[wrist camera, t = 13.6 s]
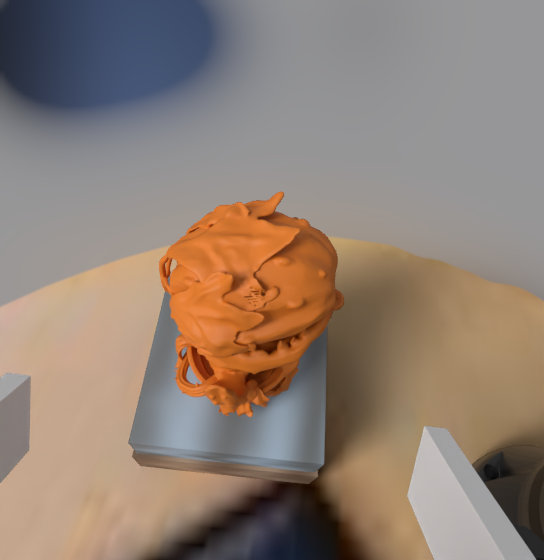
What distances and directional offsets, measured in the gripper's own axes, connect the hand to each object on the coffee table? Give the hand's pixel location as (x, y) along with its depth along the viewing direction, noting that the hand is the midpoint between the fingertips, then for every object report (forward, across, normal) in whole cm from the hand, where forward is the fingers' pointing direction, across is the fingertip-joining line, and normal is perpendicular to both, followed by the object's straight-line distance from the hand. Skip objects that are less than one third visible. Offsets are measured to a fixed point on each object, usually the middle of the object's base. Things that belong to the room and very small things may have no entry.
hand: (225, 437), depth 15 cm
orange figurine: (+21, 0, -7) cm, 22 cm away
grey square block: (+27, 0, -12) cm, 30 cm away
